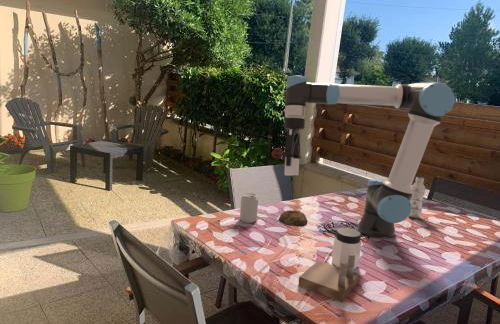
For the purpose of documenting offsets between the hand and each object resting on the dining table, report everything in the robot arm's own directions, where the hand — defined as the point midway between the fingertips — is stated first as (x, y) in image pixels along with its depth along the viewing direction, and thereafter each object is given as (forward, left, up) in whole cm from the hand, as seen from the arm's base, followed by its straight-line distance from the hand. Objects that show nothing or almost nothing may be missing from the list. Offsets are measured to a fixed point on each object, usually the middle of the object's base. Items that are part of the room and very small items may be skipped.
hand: (291, 175), depth 140 cm
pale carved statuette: (-76, -13, -27) cm, 82 cm away
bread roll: (-14, -22, -27) cm, 38 cm away
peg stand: (+1, +31, -27) cm, 41 cm away
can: (+6, -26, -27) cm, 38 cm away
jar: (-12, +21, -27) cm, 37 cm away
